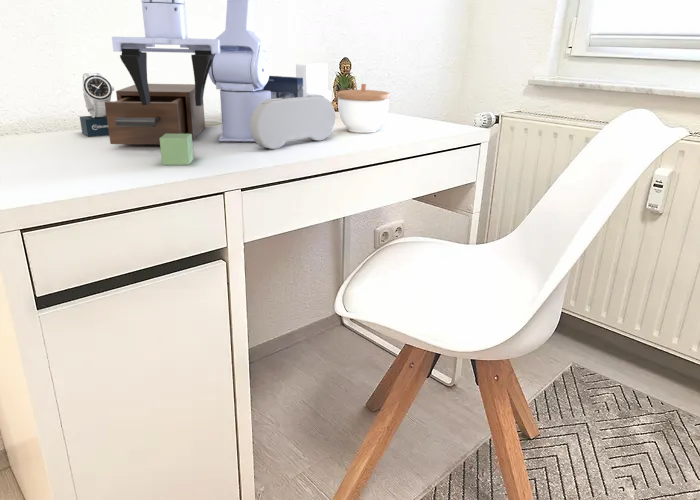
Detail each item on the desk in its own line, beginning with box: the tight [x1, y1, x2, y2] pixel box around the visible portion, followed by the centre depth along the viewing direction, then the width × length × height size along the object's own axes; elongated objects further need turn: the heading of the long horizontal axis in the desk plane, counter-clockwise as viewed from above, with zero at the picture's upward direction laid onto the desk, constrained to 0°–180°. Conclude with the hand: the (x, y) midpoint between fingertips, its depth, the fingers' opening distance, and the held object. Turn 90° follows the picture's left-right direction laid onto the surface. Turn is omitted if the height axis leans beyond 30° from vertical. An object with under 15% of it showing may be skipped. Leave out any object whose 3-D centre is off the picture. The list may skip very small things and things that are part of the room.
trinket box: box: [336, 83, 391, 134], centre depth 113 cm, size 11×11×9 cm
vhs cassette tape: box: [262, 75, 303, 99], centre depth 120 cm, size 18×3×10 cm, turn 64°
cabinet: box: [115, 83, 206, 141], centre depth 105 cm, size 15×13×9 cm
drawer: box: [105, 96, 188, 145], centre depth 94 cm, size 18×11×7 cm, turn 5°
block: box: [159, 134, 195, 166], centre depth 83 cm, size 4×4×4 cm
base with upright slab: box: [295, 62, 332, 103], centre depth 129 cm, size 9×9×12 cm
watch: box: [79, 72, 115, 138], centre depth 102 cm, size 6×8×11 cm
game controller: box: [250, 95, 336, 150], centre depth 98 cm, size 20×2×8 cm, turn 140°
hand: (172, 104), depth 81 cm, fingers open, 7 cm apart
